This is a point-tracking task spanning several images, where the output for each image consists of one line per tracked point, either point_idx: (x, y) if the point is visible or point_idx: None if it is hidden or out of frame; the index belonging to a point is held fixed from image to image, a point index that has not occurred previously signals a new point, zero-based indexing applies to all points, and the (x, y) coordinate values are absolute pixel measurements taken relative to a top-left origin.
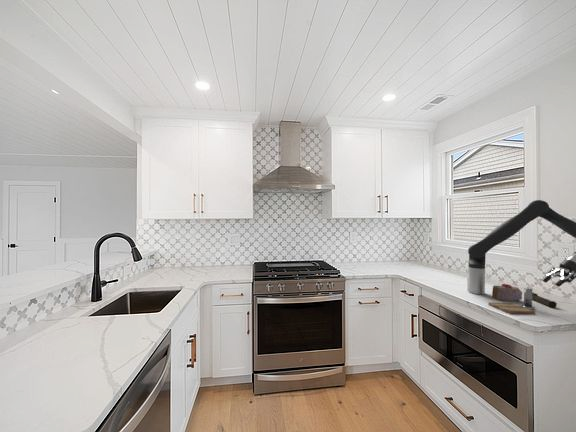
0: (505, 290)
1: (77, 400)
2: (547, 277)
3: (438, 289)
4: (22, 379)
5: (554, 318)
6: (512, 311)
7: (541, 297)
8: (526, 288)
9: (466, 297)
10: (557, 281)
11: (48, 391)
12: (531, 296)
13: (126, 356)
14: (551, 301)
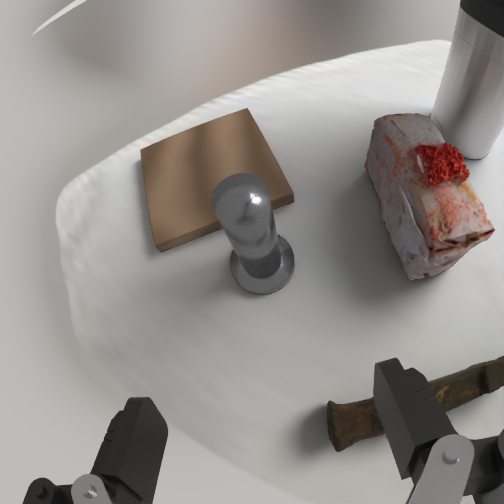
0: (387, 158)
1: (45, 24)
2: (401, 431)
3: (403, 45)
4: (64, 8)
5: (118, 310)
6: (142, 159)
7: (440, 401)
8: (252, 189)
9: (338, 79)
10: (129, 429)
11: (53, 17)
12: (229, 239)
13: (74, 6)
14: (335, 423)
